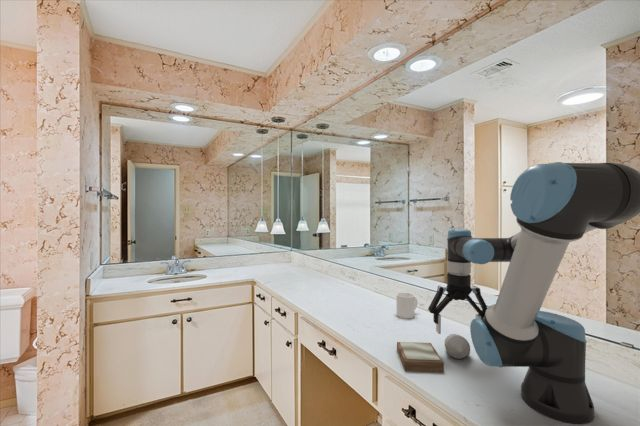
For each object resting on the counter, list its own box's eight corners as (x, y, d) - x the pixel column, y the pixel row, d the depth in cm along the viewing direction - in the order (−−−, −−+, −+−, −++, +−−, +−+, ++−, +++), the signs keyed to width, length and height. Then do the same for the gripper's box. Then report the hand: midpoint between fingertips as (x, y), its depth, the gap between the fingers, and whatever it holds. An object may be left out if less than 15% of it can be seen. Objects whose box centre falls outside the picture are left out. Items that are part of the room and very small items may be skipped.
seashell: (452, 373, 108) (455, 355, 98) (432, 344, 116) (434, 325, 107) (473, 363, 109) (478, 343, 99) (452, 335, 117) (455, 315, 108)
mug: (410, 310, 152) (410, 290, 152) (423, 315, 145) (423, 294, 145) (392, 314, 146) (392, 293, 146) (405, 320, 139) (405, 298, 139)
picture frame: (443, 372, 95) (443, 361, 95) (404, 370, 96) (404, 360, 96) (430, 351, 109) (430, 342, 109) (396, 350, 110) (396, 341, 110)
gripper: (490, 271, 109) (489, 329, 109) (419, 270, 111) (419, 327, 111) (501, 276, 101) (500, 338, 102) (425, 275, 103) (424, 336, 104)
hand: (458, 333), depth 107 cm, fingers open, 13 cm apart
